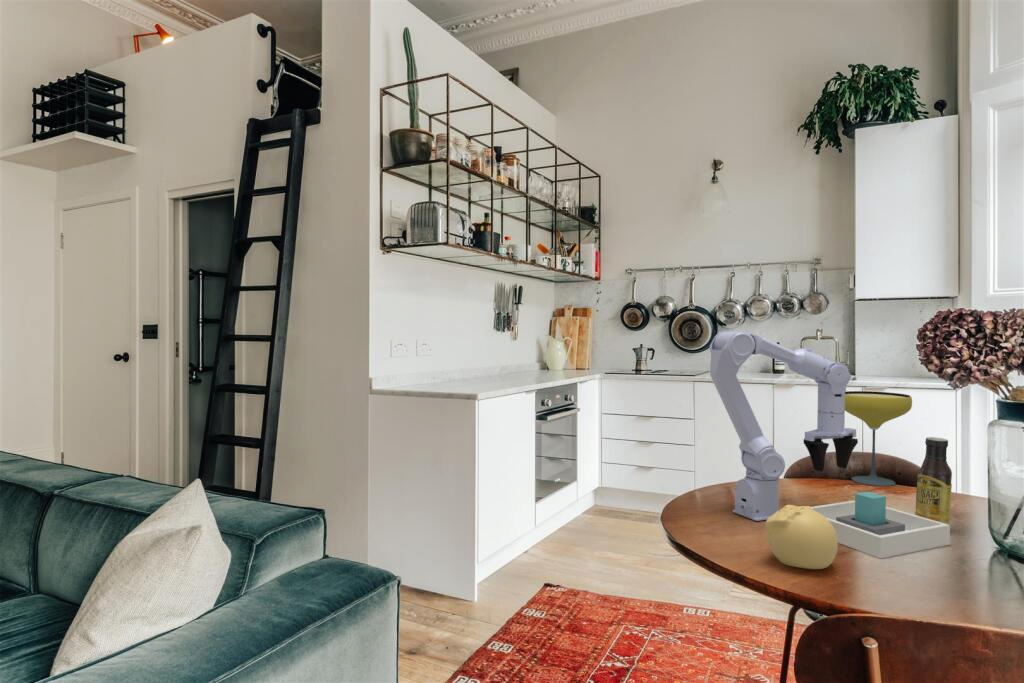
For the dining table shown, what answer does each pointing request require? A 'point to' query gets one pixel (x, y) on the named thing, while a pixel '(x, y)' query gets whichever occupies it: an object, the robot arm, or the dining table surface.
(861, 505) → the block
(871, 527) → the box
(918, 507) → the sauce bottle
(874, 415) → the cocktail glass
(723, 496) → the dining table surface
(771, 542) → the sculpture
